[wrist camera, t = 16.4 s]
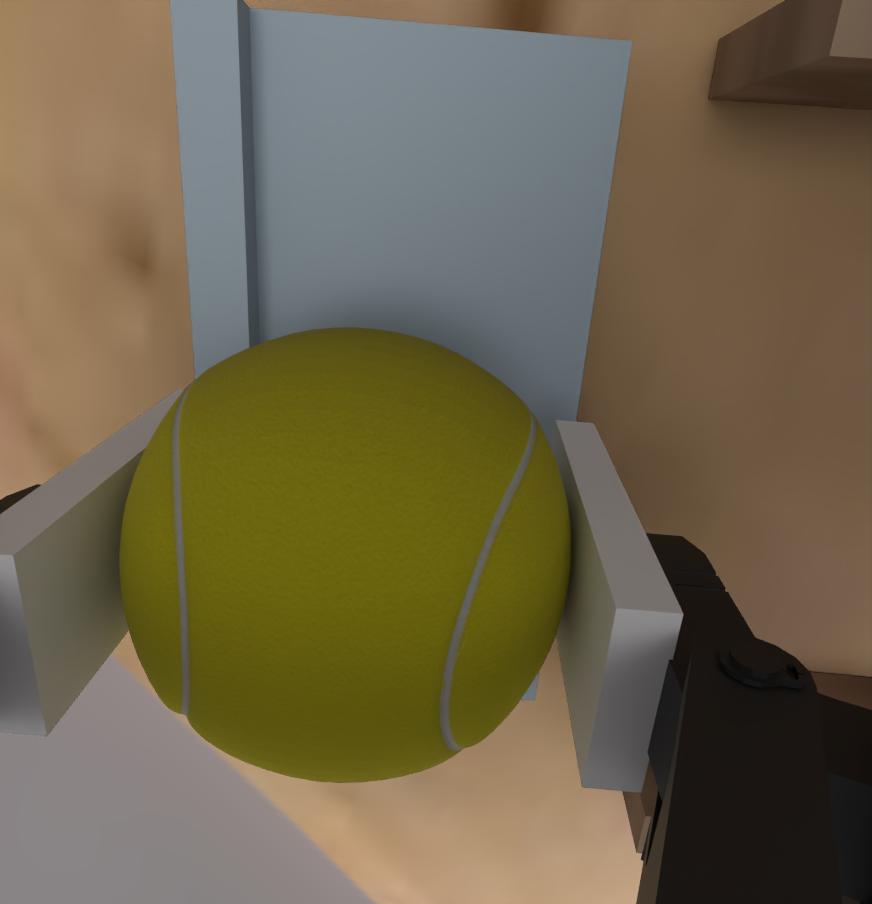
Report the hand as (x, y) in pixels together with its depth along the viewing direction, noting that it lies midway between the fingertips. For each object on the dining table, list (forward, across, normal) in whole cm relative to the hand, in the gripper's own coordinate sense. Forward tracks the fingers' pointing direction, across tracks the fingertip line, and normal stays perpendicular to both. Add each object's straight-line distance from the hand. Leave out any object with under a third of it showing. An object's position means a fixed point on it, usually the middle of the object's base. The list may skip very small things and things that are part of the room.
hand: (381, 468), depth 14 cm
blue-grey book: (+3, -5, 0) cm, 6 cm away
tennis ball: (0, 0, 0) cm, 0 cm away
